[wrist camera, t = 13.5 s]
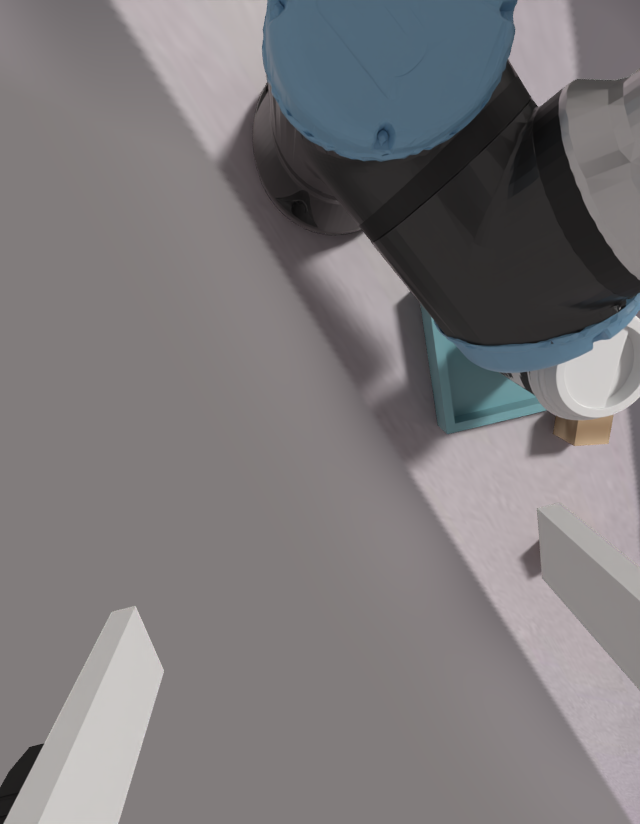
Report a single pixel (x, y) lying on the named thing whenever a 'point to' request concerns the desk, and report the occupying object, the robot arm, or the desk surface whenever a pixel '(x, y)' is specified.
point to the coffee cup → (590, 379)
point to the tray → (470, 387)
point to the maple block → (584, 430)
